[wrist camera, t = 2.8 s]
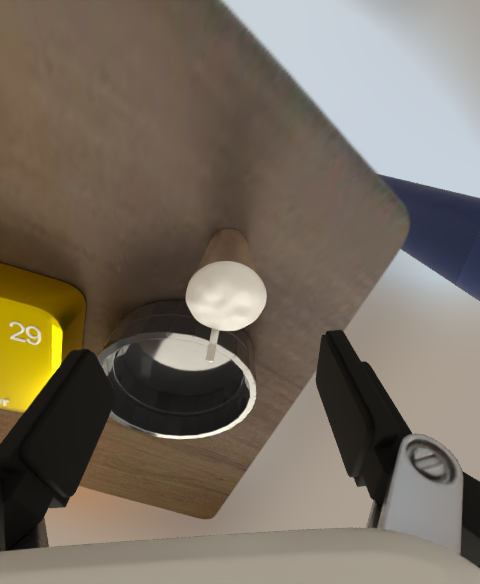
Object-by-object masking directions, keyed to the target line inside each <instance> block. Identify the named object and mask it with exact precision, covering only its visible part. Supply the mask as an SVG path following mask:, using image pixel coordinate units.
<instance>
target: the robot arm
mask: <svg viewBox="0 0 480 584" xmlns="http://www.w3.org/2000/svg"><path fill="white" fill-rule="evenodd" d="M316 385H317V388H318V391H319V394H320V397H321V400H322V403H323V406H324V408H325V411H326V414H327V417H328V419H329V423H330V425H331V428H332V431H333V434H334V437H335V440H336V443H337V446H338V448H339V451H340V454H341V457H342V459H343V463H344V465H345V468H346V471H347V473H348V475H349V476H350V477H354V479H355V482H356V485H357V486H358V487H360V486H367V489H368V492H369V494H370V497H371V498H372V499H373V500H374V501H373V505H372V508H371V512H370V516H369V519H368V523H367V527H366V528H332V529H307V530H289V531H274V532H257V533H242V534H226V535H212V536H196V537H181V538H167V539H153V540H138V541H124V542H110V543H97V544H83V545H70V546H57V547H49V545H48V538H47V532H46V526H45V519H44V516H45V513H46V512H47V510H48V508H59V507H66V505H67V503H68V500H69V498H70V497H71V496H73V495H74V493H75V492H76V490H77V488H78V486H79V483H80V481H81V479H82V477H83V474H84V472H85V470H86V467H87V465H88V463H89V461H90V458H91V456H92V454H93V451H94V449H95V447H96V445H97V442H98V440H99V438H100V435H101V433H102V431H103V429H104V426H105V424H106V422H107V419H108V417H109V415H110V413H111V410H112V408H113V406H114V403H115V401H116V393H115V391H114V389H113V387H112V385H111V383H110V382H109V380H108V378H107V376H106V374H105V372H104V370H103V368H102V366H101V365H100V363H99V361H98V359H97V357H96V355H95V354H94V353H93V352H91V351H90V350H89V349H82V350H73V351H71V352H70V353H69V354H68V355H67V357H66V358H65V359H64V361H63V362H62V363H61V365H60V366H59V367H58V369H57V370H56V371H55V373H54V374H53V375H52V376H51V378H50V379H49V380H48V382H47V383H46V384H45V386H44V387H43V388H42V390H41V391H40V392H39V394H38V395H37V396H36V398H35V399H34V400H33V402H32V403H31V404H30V406H29V407H28V408H27V410H26V411H25V412H24V414H23V415H22V416H21V418H20V419H19V420H18V422H17V423H16V424H15V426H14V427H13V428H12V430H11V431H10V432H9V434H8V435H7V436H6V438H5V439H4V440H3V442H2V443H1V444H0V584H480V482H479V481H478V480H476V479H474V478H473V477H471V476H469V475H468V474H466V473H464V472H463V471H462V468H461V466H460V464H459V462H458V460H457V459H456V458H455V456H454V455H453V454H452V453H451V452H450V450H448V449H447V448H446V447H445V446H444V445H443V444H441V443H440V442H438V441H437V440H435V439H433V438H431V437H428V436H426V435H422V434H412V432H411V431H410V429H409V428H408V426H407V424H406V423H405V421H404V420H403V418H402V416H401V415H400V413H399V411H398V410H397V408H396V406H395V405H394V403H393V401H392V400H391V398H390V397H389V395H388V393H387V392H386V390H385V389H384V387H383V385H382V384H381V382H380V380H379V379H378V378H377V376H376V374H375V372H374V371H373V369H372V368H371V366H370V365H369V364H368V363H367V362H361V361H360V359H359V358H358V356H357V354H356V352H355V351H354V349H353V347H352V346H351V344H350V342H349V341H348V339H347V337H346V336H345V334H344V332H343V331H342V330H335V331H327V332H326V335H322V337H321V345H320V352H319V359H318V366H317V373H316Z"/></svg>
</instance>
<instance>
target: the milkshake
mask: <svg viewBox="0 0 480 584" xmlns="http://www.w3.org/2000/svg"><path fill="white" fill-rule="evenodd" d="M266 297H267V295H266V289H265V286H264V284H263V282H262V279H261V277H260V274H259V272H258V270H257V267H256V265H255V263H254V261H253V258H252V255H251V253H250V250H249V246H248V243H247V240H246V237H245V236H244V235H243V234H241V233H240V232H238V231H237V230H236V229H222V230H220V231H219V232H218V233H216V234H215V235H214V236H212V238H211V241H210V243H209V245H208V247H207V249H206V251H205V254H204V256H203V258H202V260H201V262H200V264H199V265H198V267H197V269H196V271H195V273H194V274H193V276H192V278H191V280H190V281H189V284H188V287H187V291H186V303H187V306H188V308H189V309H190V311H191V313H192V315H193V316H194V318H195V319H196V320H197V321H198V322H200V323H201V324H203V325H205V326H207V327H210V328H212V330H211V335H210V340H209V346H208V351H207V356H206V360H207V361H211V362H213V361H214V357H215V352H216V346H217V341H218V335H219V330H221V331H235V330H239V329H242V328H244V327H246V326H248V325H249V324H251V323H252V322H254V321H255V320H256V319H257V318H258V317H259V315H260V314H261V312H262V310H263V309H264V307H265V304H266Z"/></svg>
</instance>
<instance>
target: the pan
mask: <svg viewBox="0 0 480 584" xmlns="http://www.w3.org/2000/svg"><path fill="white" fill-rule="evenodd" d="M211 330H212V328H210V327H207V326H205V325H203V324H201V323H200V322H198V321H197V320H196V319H195V318H194V316H193V315H192V313H191V311H190V309H189V308H188V306H187V303H186V301H180V300H179V301H178V300H176V301H161V302H155V303H152V304H148V305H145V306H142V307H139V308H137V309H135V310H134V311H132V312H131V313H129V314H128V315H126V316H125V317H123V318H122V319H121V321H120V322H119V323H118V325H117V326H116V327H115V328H114V330H113V331H112V333H111V334H110V336H109V338H108V339H107V341H106V342H105V344H104V345H103V347H102V349H101V350H100V352H99V353H98V355H97V356H96V357H97V359H98V361H99V363H100V365H101V366H102V368H103V370H104V372H105V374H106V376H107V378H108V380H109V382H110V383H111V385H112V387H113V389H114V391H115V393H116V401H115V403H114V406H113V408H112V410H111V413H110V415H109V416H110V417H111V418H113V419H114V420H116V421H118V422H119V423H121V424H123V425H124V426H127V427H129V428H131V429H134V430H136V431H139V432H141V433H144V434H148V435H153V436H157V437H162V438H173V439H190V438H202V437H206V436H211V435H215V434H218V433H221V432H223V431H226V430H228V429H230V428H232V427H233V426H235V425H236V424H238V423H239V422H241V421H242V420H244V418H245V417H246V416H247V415H248V414H249V412H250V411H251V410H252V408H253V406H254V403H255V400H256V397H257V388H256V375H255V364H254V352H253V347H252V344H251V342H250V340H249V337H248V335H247V334H246V333H245V331H244V330H243V329H239V330H235V331H221V330H219V335H218V341H217V346H216V352H215V357H214V361H213V362H211V361H207V360H206V356H207V351H208V346H209V340H210V335H211Z"/></svg>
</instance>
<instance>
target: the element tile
mask: <svg viewBox="0 0 480 584" xmlns="http://www.w3.org/2000/svg"><path fill="white" fill-rule="evenodd" d="M85 312H86V301H85V299H84V297H83V295H82V294H81V292H80V291H79V290H78V289H76V288H75V287H73V286H72V285H70V284H68V283H65V282H63V281H60V280H56V279H53V278H49V277H46V276H43V275H39V274H36V273H33V272H29V271H26V270H23V269H19V268H16V267H13V266H9V265H6V264H3V263H0V408H2V409H7V410H12V411H18V412H23V413H24V412H25V411H26V410H27V408H28V407H29V406H30V404H31V403H32V402H33V400H34V399H35V398H36V396H37V395H38V394H39V392H40V391H41V390H42V388H43V387H44V386H45V384H46V383H47V382H48V380H49V379H50V378H51V376H52V375H53V374H54V373H55V371H56V370H57V369H58V367H59V366H60V365H61V363H62V362H63V361H64V359H65V358H66V357H67V355H68V354H69V353H70V352H71V351H73V350H82V341H83V332H84V322H85Z"/></svg>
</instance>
